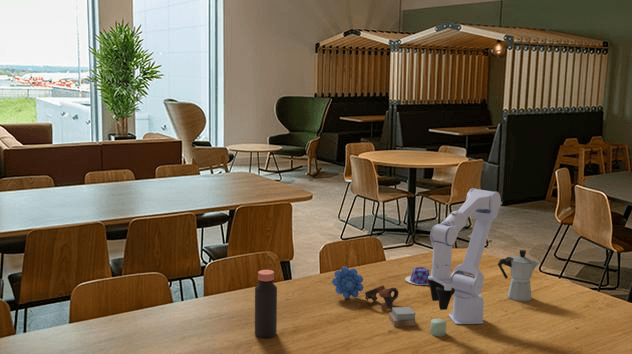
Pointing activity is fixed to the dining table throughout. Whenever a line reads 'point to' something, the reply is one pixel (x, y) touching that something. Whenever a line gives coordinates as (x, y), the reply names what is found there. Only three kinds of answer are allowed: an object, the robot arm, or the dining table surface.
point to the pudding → (418, 276)
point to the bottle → (265, 305)
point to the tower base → (401, 321)
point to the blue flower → (348, 282)
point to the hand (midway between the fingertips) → (439, 304)
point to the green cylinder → (438, 327)
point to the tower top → (403, 313)
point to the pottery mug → (383, 296)
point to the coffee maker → (519, 276)
